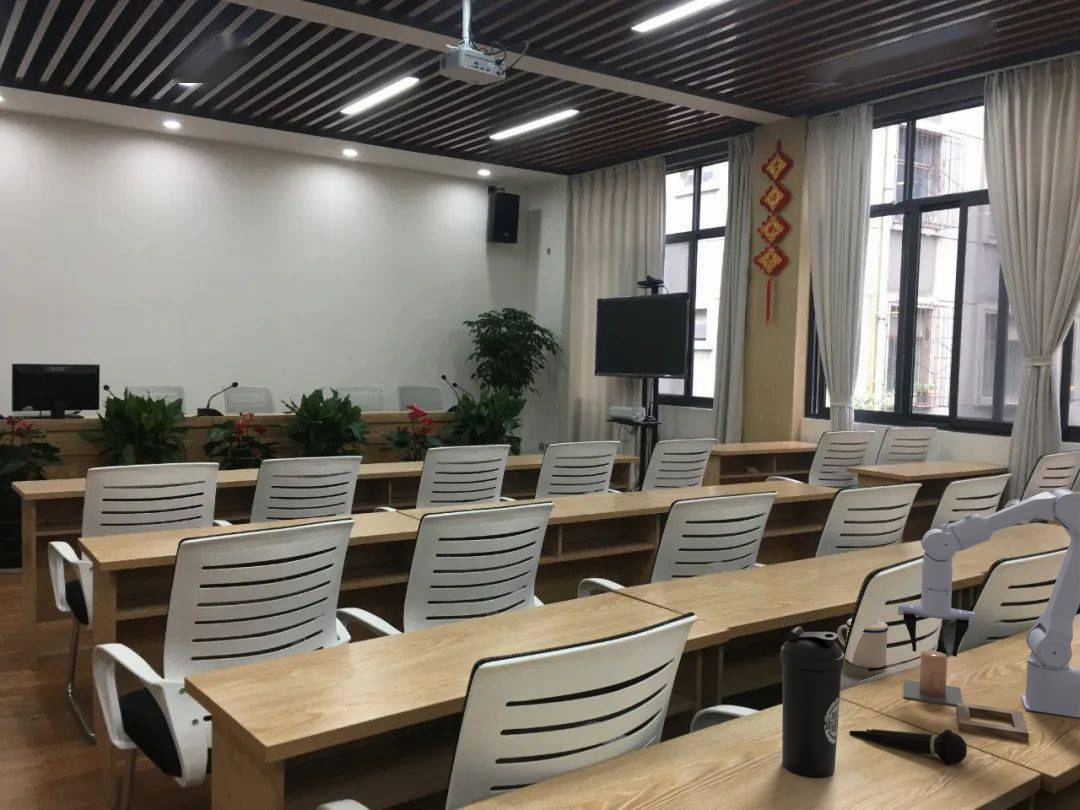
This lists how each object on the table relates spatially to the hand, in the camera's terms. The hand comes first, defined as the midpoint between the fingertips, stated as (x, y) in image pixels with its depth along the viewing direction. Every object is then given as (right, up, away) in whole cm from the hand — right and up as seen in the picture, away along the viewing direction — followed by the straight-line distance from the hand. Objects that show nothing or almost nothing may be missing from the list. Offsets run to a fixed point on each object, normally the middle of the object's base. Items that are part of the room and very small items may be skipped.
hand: (934, 652), depth 186 cm
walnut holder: (+4, -10, -15) cm, 19 cm away
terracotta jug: (0, -8, 0) cm, 8 cm away
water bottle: (-37, -10, -35) cm, 52 cm away
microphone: (-16, -10, -27) cm, 33 cm away
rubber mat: (0, -9, 0) cm, 9 cm away
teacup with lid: (-8, -8, +21) cm, 24 cm away
